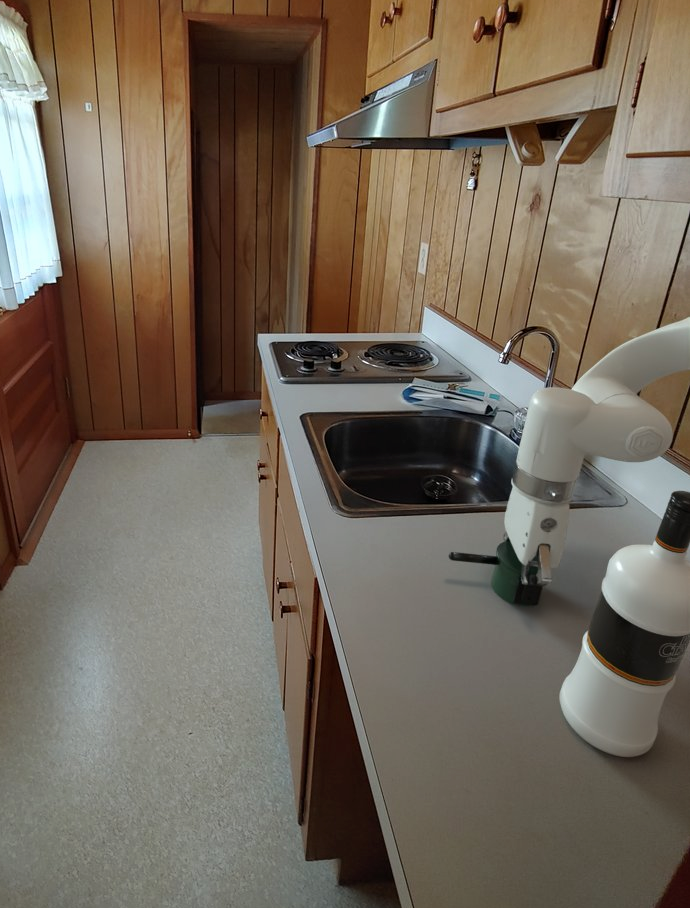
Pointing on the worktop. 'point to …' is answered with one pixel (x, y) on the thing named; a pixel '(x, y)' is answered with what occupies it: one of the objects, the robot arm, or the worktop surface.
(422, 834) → the worktop surface
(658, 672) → the vodka
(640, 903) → the worktop surface
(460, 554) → the pot
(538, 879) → the worktop surface
